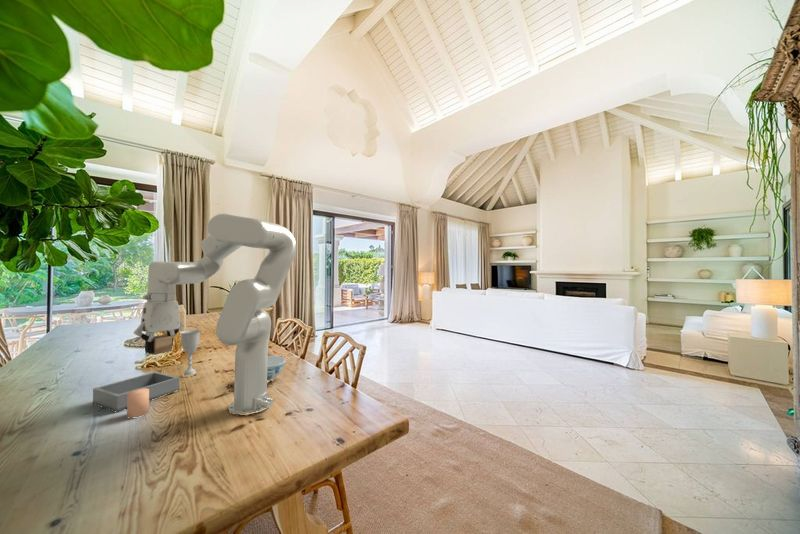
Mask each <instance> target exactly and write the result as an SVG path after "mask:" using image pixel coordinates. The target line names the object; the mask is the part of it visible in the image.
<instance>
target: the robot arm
mask: <svg viewBox="0 0 800 534" xmlns="http://www.w3.org/2000/svg"><path fill="white" fill-rule="evenodd" d="M206 226H207V229H206V230H207V233H208V235H207V236H206V237H205V238H204V239H202V240H201V243H200V247H201V251H202V252H203V253H204V256H203V257H202V258H200V259H199V260H197V261H196V262H195V261H151V262H150V263H149V264H148V273H147V274H148V275H147V292H146V294H145V295H142V299H143V300H146V302H144V304H143V309H142V312H141V318H140V324H139V325H138V326H137V328H136V329H135V330H134V331H133V335H135V336H137V337H140V339H142V340H143V341H144V342H145V343H144V350H145V352H146V353H147V354H151V353H153V352H154V341H152V339H153V337H154V336H155V334H157V333H163V332H165V335H167V336H172V347H173V346H174V338H176V335H177V334H178V333H180V331H181V330H182V329H183V328H184V324H183V323H182V322H181V315H180V305H179V302H178V300H176V285H185V284H186V285H189V284H200V283H203V282H205V281H207V280H208V279H210V278H211V277H212V276H213V275H215V274H216V273H218V272H219V270H220V269H221V268H222V265H223V263H224V259H226V258H227V257H228V256H230V255H232V254H233V253H234V252H236V251H237V250H239V249H240V248H241V247H242V246H243V247H247V248H253V249H262V250H263V249H264V250H269V252H268V254H267V255H266V256H265V257H264V258H263V260H262V262H261V263H260V265H259V268H258V270H257V273H256V275H255V276H254V277H253V278H248V279H242V280H240V281H238V282H237V283H235V284H234V285H233V286H232V288H230V290H229V292H228V294H227V297H226V299H225V302H224V304H223V307H222V309H221V312H220V314H219V318H218V319H217V322H216V326H215V329H216V330H215V333H216V336H217V338H218V340H219V342H221V343H222V344H223V345H226V346H236V348H235V353H234V379H233V380H234V389H233V390H234V392H233V401H232V402H231V403H229V405H228V407H227V408H228V410H229V411H230V412H231V413H235V414H246V413H252V412H256V411H260V410H262V409H264V408H268V409H270V408H271V407H272V404H274V403H275V398H271V397H270V391H268V383H267V358H268V356H269V355H268V354H269V351H268V350H269V340H270V336H271V335H270V334H271V330H272V320H271V316H270V315H269V313H268V312H267V311H266V310H265V309H266V308H270V307H272V306H274V305H275V304H276V303H277V301H278V299H279V296H280V293H281V291H282V289H283V287H284V284H285V282H286V280H287V276H288V274H289V271H290V269H291V266H292V264H293V262H294V259H295V257H296V254H297V241H296V239H295V237H294V235H293V233H292V232H291V231H290V229H288V228H287V227H284V226H283V225H281V224H278V223H276V222H275V223H274V222H271V221H270V222H269V221H267V220H262V219H259V218H251V217H245V216H240V215H232V214H229V213H219V214H218V213H217V214H216V215H214V216H213V217H211V219H209V221H208V224H207V225H206ZM143 332H145V333H143ZM229 411H228V412H229ZM231 413H230V414H231Z"/></svg>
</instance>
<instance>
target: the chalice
mask: <svg viewBox="0 0 800 534" xmlns="http://www.w3.org/2000/svg"><path fill="white" fill-rule="evenodd" d="M201 332H202V330H201V329H188V330H182V331H179V333H180V335H181V337H180V342H181V343H180V344H181V347H182V349H183V352H184V353H185V354H186V355H188V357H187V360H188V362H187V365H188V367H187V369H185V370H184V372H183V374H184V375H185V376H186V375H193V374H195V373H197V371H196V369H195V368H193V367H192V364H193V362H192V361H193V357H192V355H193V354H194V353H195V352H196V350H197V349H198V347H199V345H200V337H201V336H200V333H201Z"/></svg>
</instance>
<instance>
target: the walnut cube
mask: <svg viewBox="0 0 800 534" xmlns="http://www.w3.org/2000/svg"><path fill="white" fill-rule="evenodd" d="M152 341H154V352H153V353H150V354H152V355H159V354H164V353H165V354H166V353H168V352H169V353H170V352H172V350H173V346H172V336H167V334H161V335H156V336H155V335H154V337H153V339H152Z"/></svg>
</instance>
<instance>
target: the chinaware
mask: <svg viewBox="0 0 800 534" xmlns="http://www.w3.org/2000/svg"><path fill="white" fill-rule="evenodd" d="M285 364H286V358H285V357H283V356H280V355H268V358H267V380H271V379H274V380H275V378H276V377H278V376H279V375H280V374H281V373H282V371H283V369H284V367H285Z"/></svg>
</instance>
